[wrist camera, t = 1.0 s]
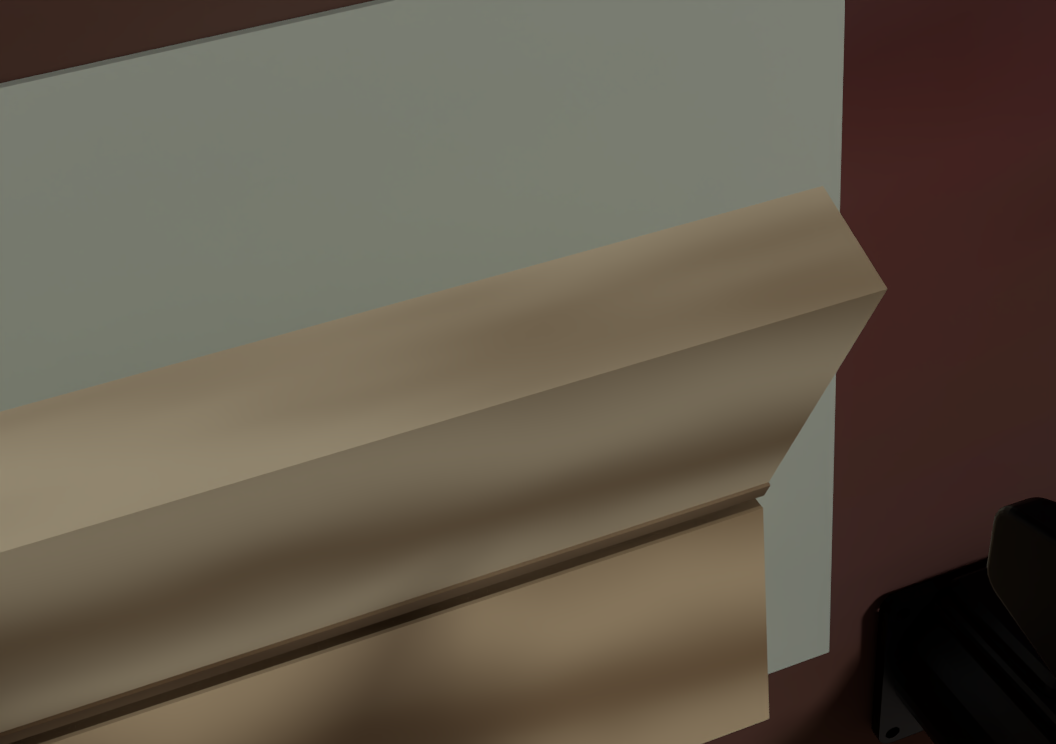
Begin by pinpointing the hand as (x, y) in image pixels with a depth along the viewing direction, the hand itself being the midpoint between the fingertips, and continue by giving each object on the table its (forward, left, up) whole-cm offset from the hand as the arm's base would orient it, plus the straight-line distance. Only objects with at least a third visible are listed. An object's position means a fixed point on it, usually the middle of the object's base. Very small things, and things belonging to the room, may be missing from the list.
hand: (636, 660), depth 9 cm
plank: (-2, +6, -8) cm, 11 cm away
